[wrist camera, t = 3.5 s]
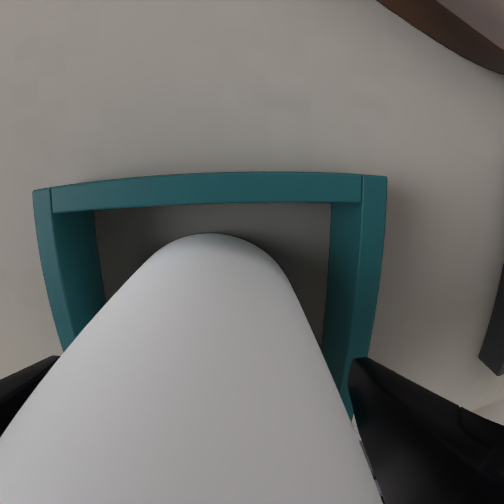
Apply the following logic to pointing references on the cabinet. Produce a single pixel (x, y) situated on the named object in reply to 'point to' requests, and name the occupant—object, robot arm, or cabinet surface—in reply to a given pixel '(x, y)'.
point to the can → (190, 396)
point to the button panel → (495, 335)
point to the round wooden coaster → (459, 26)
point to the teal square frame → (214, 192)
